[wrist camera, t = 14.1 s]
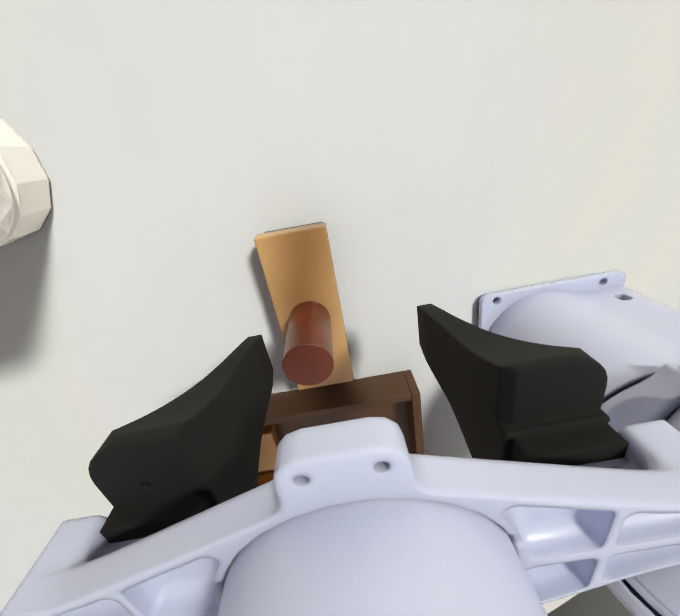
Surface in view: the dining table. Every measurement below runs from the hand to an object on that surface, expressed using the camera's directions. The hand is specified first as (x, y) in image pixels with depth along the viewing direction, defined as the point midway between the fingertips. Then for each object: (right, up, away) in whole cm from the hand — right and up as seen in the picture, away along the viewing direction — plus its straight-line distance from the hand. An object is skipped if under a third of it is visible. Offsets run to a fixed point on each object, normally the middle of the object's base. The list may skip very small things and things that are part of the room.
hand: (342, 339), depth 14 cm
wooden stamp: (-2, +2, +6) cm, 7 cm away
